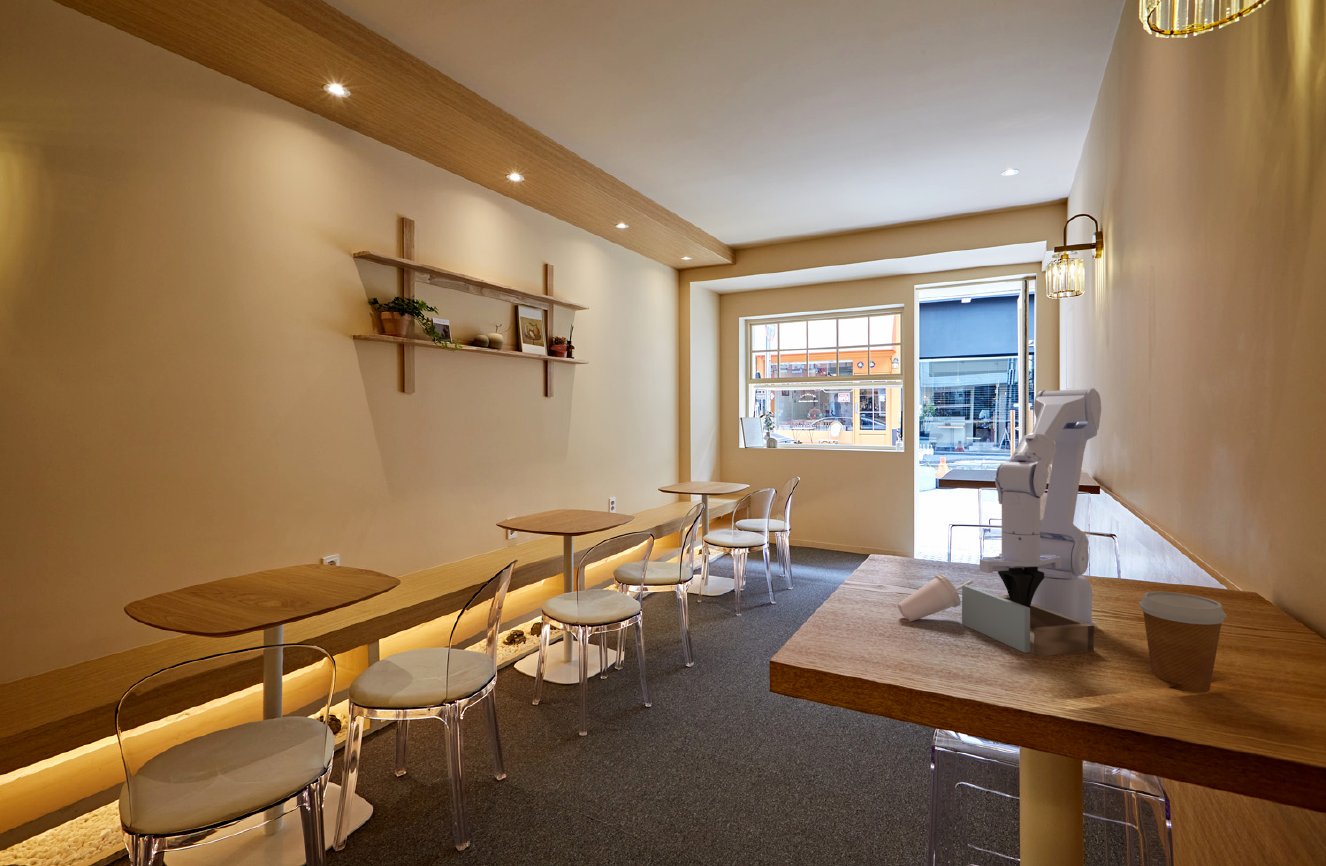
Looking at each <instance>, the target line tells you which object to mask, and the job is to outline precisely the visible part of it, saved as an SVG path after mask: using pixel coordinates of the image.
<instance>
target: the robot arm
mask: <svg viewBox="0 0 1326 866" xmlns="http://www.w3.org/2000/svg"><path fill="white" fill-rule="evenodd" d="M1101 401H1102V399H1101V395H1100V393H1099V392H1098V390H1097V389H1095V388H1094V387H1093V388H1087V389H1085V388H1084V389H1067V390H1066V389H1064V390H1061V389H1060V390H1045V389H1044V390H1043V389H1042V390H1039V392H1037V394H1036V395H1035V398H1034V403H1033V411H1034V415H1035V417H1036V421H1035V424H1034V426H1033V429H1032V432H1031V433H1028V434H1026V435H1023V437H1022V438H1021V439H1020V441H1019V442H1018V445H1017V446H1016V448H1015V450H1014V452H1013V453H1012V455H1011V457H1010V458H1009V461H1004V462H1003V463H1002V464H999V465H998V467H997V468H996V469H997V470H996V472H995V478H994V481H995V482H994V483H995V487H996V491H997V501H998V504H1000V505H1001V553H999V555H997V556H992V557H988V558H980V559H979V571H981V572H984V573H987V574H992V573H994V572H997V574H998V576H999V577H1000V579H1001V580H1002V583H1003V584H1004V586H1005V589H1006V591H1007V594H1008V595H1009V598H1010V601H1012V602H1015V603H1018V604H1020V605H1023V606H1026V607H1029V608H1030V605H1031V603H1032V604H1035V605H1038V606H1041V607H1044V608H1046V609H1049V610H1052V611H1055V612H1058V613H1060V614H1063V615H1066V616H1069V617H1072V618H1074V619H1077V620H1080V621H1083V622H1086V623H1088V624H1091V625H1094V626H1096V625H1097V623H1096V621H1093V589H1092V585H1091V583H1090V581H1089V580H1088V579H1087V578H1086V577H1085V576H1084V574H1085V573H1086V572H1087V570H1088V567H1089V566H1088V565H1089V559H1090V556H1089V543H1090V541H1089V539H1088V536H1087V535H1086V533H1084V532H1083V530H1081V529H1080V528H1078V526H1076V525H1075V524H1074V520H1075V513H1076V506H1077V499H1078V495H1079V487H1080V479H1081V474H1082V467H1083V461H1084V455H1085V450H1086V446H1087V442H1088V441H1089V440H1090V439H1092V438H1095V437H1096V436H1097V435H1098V430H1099V429H1100V424H1101V423H1100V422H1101V421H1100V420H1101V415H1102V402H1101ZM1050 465H1051V467H1050ZM1049 467H1050V468H1051V470H1050V476H1049V470H1048V469H1049ZM1048 478H1049V481H1048ZM1047 482H1048V487H1047ZM1046 491H1047V493H1046V499H1045V503H1044V504H1045V505H1044V510H1043V511H1044V512H1043V518H1041V497H1043V495H1044V494H1045V492H1046Z"/></svg>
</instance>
